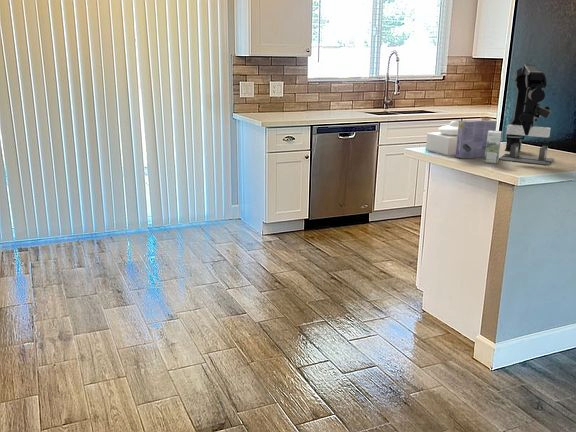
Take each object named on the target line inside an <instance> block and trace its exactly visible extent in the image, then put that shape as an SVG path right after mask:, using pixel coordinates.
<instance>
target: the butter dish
mask: <svg viewBox="0 0 576 432" xmlns="http://www.w3.org/2000/svg"><path fill="white" fill-rule="evenodd" d="M458 126H459V121H457V120H452V121H451V122H449V124H448V125H442V126H440V127H438V129H437V131H438V132H434V131H433V132H426V142H425V143H426V144H425V150H427V151H430V152H433V153H437V154H441V155H445V156H455V155H456V146H457V136H458Z"/></svg>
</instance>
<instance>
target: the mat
mask: <svg viewBox="0 0 576 432" xmlns="http://www.w3.org/2000/svg"><path fill="white" fill-rule="evenodd" d="M501 160H502V162H503V161H504V162H511V161H512V162H513V163H522V164H531V165H539V166H540V165H541V166H549V165H551V164H552V162H547V161H538V160H528V159H519V158H509V157H502V156H499V159H498V161H501Z"/></svg>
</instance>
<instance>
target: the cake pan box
mask: <svg viewBox="0 0 576 432" xmlns="http://www.w3.org/2000/svg"><path fill="white" fill-rule="evenodd" d="M497 122H498V121H497V120H458V123H459V126H458V136H457V146H456V155H454V156H455V157H456V158H459V159H477V158H478V159H480V158H481V159H482V158H484V159H485V153H486V144H487V136H488V131H489V130H491V131H497V130H496V128H497Z"/></svg>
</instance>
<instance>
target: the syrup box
mask: <svg viewBox="0 0 576 432" xmlns="http://www.w3.org/2000/svg"><path fill="white" fill-rule="evenodd" d="M502 135H503V131H501V130H495V131H491V130H489V131H488V136H487V144H486V153H485V158H484V161H483V162H484V164H494V165H497V164H498V163H499V160H498V159H499V158H500V149H501V143H502V141H501V140H502Z"/></svg>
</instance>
